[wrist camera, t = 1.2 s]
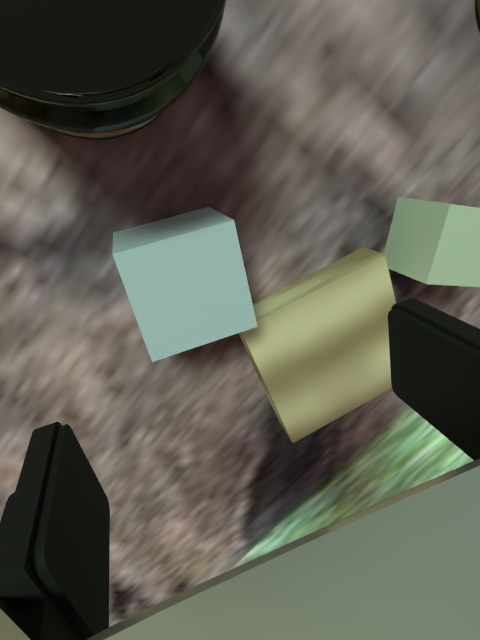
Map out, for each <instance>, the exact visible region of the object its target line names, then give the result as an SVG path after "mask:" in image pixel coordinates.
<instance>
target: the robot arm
mask: <svg viewBox="0 0 480 640" xmlns="http://www.w3.org/2000/svg"><path fill="white" fill-rule="evenodd" d="M388 331H389V350H390V369H391V385H392V389H393V391H394V392H395V394H396V395H397V396H398V397H399V398H400V399H401V400H403V401H404V402H405V403H406V404H407V405H409V406H410V407H411V408H412V409H413V410H415V411H416V412H417V413H418V414H419V415H421V416H422V417H423V418H424V419H425V420H427V421H428V422H429V423H430V424H431V425H432V426H434V427H435V428H436V429H437V430H438V431H440V432H441V433H442V434H443V435H444V436H446V437H447V438H448V439H449V440H450V441H452V442H453V443H454V444H455V445H456V446H458V447H459V448H460V449H461V450H462V451H464V452H465V453H466V454H467V455H468V456H470V457H471V458H472V459H473V460H474V461H473V462H470V463H468V464H466V465H464V466H461V467H459V468H457V469H455V470H452V471H450V472H448V473H446V474H443V475H441V476H439V477H436V478H434V479H432V480H430V481H427V482H425V483H423V484H421V485H418V486H416V487H414V488H412V489H409V490H407V491H405V492H403V493H400V494H398V495H396V496H394V497H391V498H389V499H387V500H385V501H382V502H380V503H378V504H376V505H374V506H371V507H369V508H367V509H365V510H362V511H360V512H358V513H356V514H353V515H351V516H349V517H347V518H344V519H342V520H340V521H338V522H336V523H333V524H331V525H329V526H327V527H324V528H322V529H320V530H318V531H316V532H313V533H311V534H309V535H307V536H304V537H302V538H300V539H298V540H296V541H293V542H291V543H289V544H287V545H285V546H282V547H280V548H278V549H276V550H274V551H271V552H269V553H267V554H265V555H263V556H260V557H258V558H256V559H254V560H252V561H249V562H247V563H245V564H243V565H241V566H238V567H236V568H234V569H232V570H230V571H227V572H225V573H223V574H221V575H219V576H216V577H214V578H212V579H210V580H208V581H205V582H203V583H201V584H199V585H197V586H195V587H192V588H190V589H188V590H186V591H184V592H182V593H180V594H178V595H175V596H173V597H171V598H169V599H167V600H165V601H163V602H161V603H159V604H157V605H154V606H152V607H150V608H148V609H146V610H144V611H142V612H140V613H138V614H135V615H133V616H131V617H129V618H127V619H125V620H123V621H121V622H119V623H117V624H115V625H113V626H111V627H109V525H110V509H109V503H108V499H107V496H106V494H105V492H104V490H103V489H102V487H101V485H100V483H99V481H98V479H97V477H96V475H95V473H94V471H93V469H92V467H91V465H90V464H89V462H88V460H87V458H86V456H85V454H84V452H83V450H82V448H81V446H80V444H79V442H78V440H77V439H76V437H75V435H74V433H73V431H72V429H71V427H70V426H69V425H68V424H66V425H63V426H62V425H61V424H60V423H59V422H55V423H52V424H49V425H46V426H43V427H41V428H38V429H35V430H34V431H33V433H32V436H31V439H30V443H29V446H28V450H27V453H26V457H25V460H24V463H23V467H22V470H21V474H20V477H19V481H18V484H17V487H16V491H15V493H13V494H11V495H10V496H9V498H8V500H7V502H6V506H5V509H4V512H3V515H2V519H1V522H0V640H480V329H478V328H476V327H474V326H472V325H470V324H468V323H466V322H463V321H461V320H459V319H457V318H455V317H453V316H451V315H448V314H446V313H444V312H442V311H440V310H438V309H436V308H433V307H431V306H429V305H427V304H425V303H423V302H421V301H418V300H416V299H413V298H411V299H407V300H405V301H402V302H399V303H396V304H394V305H393V306H392V308H391V311H389V312H388Z"/></svg>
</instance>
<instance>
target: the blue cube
mask: <svg viewBox="0 0 480 640" xmlns="http://www.w3.org/2000/svg"><path fill="white" fill-rule="evenodd" d="M113 257H114V260H115V262H116V265H117V268H118V270H119V273H120V276H121V279H122V281H123V284H124V287H125V289H126V292H127V295H128V298H129V300H130V303H131V306H132V308H133V311H134V314H135V317H136V319H137V322H138V325H139V327H140V330H141V333H142V336H143V338H144V341H145V344H146V346H147V349H148V352H149V355H150V357H151V360H152V362H154V361H157V360H160V359H163V358H166V357H169V356H172V355H175V354H178V353H181V352H184V351H187V350H190V349H192V348H195V347H198V346H201V345H204V344H207V343H210V342H213V341H216V340H219V339H222V338H225V337H228V336H231V335H234V334H237V333H240V332H243V331H246V330H249V329H252V328H255V327H258V326H257V322H256V317H255V313H254V308H253V304H252V299H251V295H250V290H249V286H248V281H247V277H246V272H245V267H244V263H243V258H242V254H241V249H240V245H239V240H238V236H237V231H236V227H235V222H234V220H233V219H231V218H229V217H227V216H226V215H224V214H222V213H220V212H218V211H216V210H214V209H212V208H210V207H206V208H202V209H198V210H195V211H191V212H187V213H184V214H180V215H176V216H173V217H169V218H165V219H162V220H158V221H154V222H151V223H147V224H143V225H140V226H136V227H132V228H129V229H125V230H121V231H118V232H114V233H113Z"/></svg>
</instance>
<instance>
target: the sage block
mask: <svg viewBox="0 0 480 640" xmlns="http://www.w3.org/2000/svg"><path fill="white" fill-rule="evenodd" d="M384 254H385V257H386V261H387V266H388V269H390V270H393V271H395V272H398V273H400V274H403V275H405V276H407V277H410V278H412V279H415V280H417V281H420V282H422V283H425V284H431V285H450V286H470V287H480V208H477V207H469V206H462V205H455V204H447V203H440V202H432V201H425V200H417V199H410V198H402V197H398V200H397V204H396V208H395V212H394V216H393V220H392V224H391V228H390V232H389V236H388V240H387V244H386V248H385V252H384Z"/></svg>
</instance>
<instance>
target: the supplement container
mask: <svg viewBox="0 0 480 640" xmlns="http://www.w3.org/2000/svg"><path fill="white" fill-rule="evenodd" d="M225 2H226V0H0V108H2V109H3V110H5V111H7V112H9V113H11V114H13V115H15V116H18V117H20V118H22V119H24V120H27V121H29V122H32V123H35V124H38V125H41V126H44V127H46V128H48V129H50V130H52V131H55V132H57V133H60V134H63V135H66V136H70V137H74V138H80V139H87V140H107V139H114V138H120V137H123V136H126V135H130V134H132V133H134V132H136V131H139V130H141V129H142V128H144V127H146V126H147V125H149V124H150V123H152V122H153V121H154V120H155V119H157V118H158V117H159V116H160V115H161V114H162V113H163V112H164V111H165V110H166V109H167V108H169V107H170V106H171V105H172V104H174V103H175V102H176V101H177V100H178V99H179V98H180V97H181V96H182V95H183V94H184V93H185V92H186V91H187V90H188V89H189V87H190V86H191V85H192V84H193V82H194V81H195V80H196V78H197V77H198V75H199V74H200V72H201V71H202V69H203V67H204V66H205V64H206V62H207V60H208V58H209V56H210V54H211V52H212V49H213V47H214V44H215V41H216V39H217V36H218V33H219V29H220V26H221V22H222V18H223V13H224V8H225Z"/></svg>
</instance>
